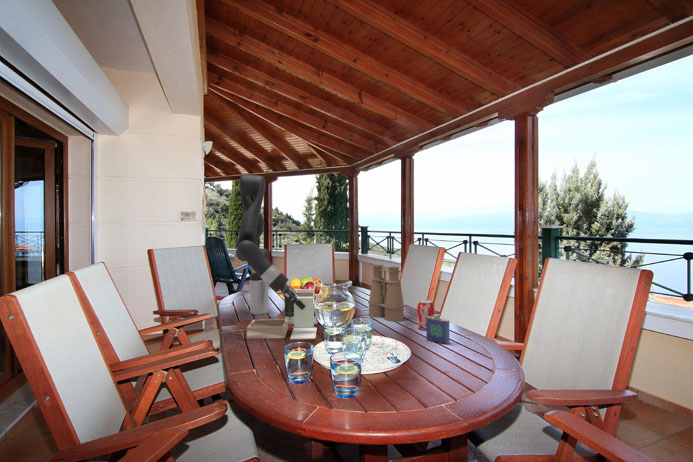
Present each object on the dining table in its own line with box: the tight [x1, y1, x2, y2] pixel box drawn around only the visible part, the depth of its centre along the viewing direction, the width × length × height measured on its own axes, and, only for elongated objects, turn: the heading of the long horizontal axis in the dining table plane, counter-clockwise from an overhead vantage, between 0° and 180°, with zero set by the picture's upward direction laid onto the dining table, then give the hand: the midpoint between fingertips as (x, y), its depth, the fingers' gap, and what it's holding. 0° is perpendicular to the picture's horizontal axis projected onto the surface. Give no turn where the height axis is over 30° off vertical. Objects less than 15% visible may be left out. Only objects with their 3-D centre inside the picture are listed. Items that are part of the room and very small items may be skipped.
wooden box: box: [246, 318, 289, 340], centre depth 149 cm, size 12×15×4 cm
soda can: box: [416, 299, 435, 332], centre depth 154 cm, size 7×7×12 cm
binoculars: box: [367, 264, 405, 323], centre depth 174 cm, size 21×10×25 cm, turn 41°
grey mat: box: [289, 326, 318, 340], centre depth 148 cm, size 14×10×1 cm
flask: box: [425, 313, 451, 345], centre depth 137 cm, size 9×3×11 cm, turn 50°
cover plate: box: [293, 297, 315, 328], centre depth 149 cm, size 3×8×12 cm, turn 93°
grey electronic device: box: [284, 288, 319, 325], centre depth 167 cm, size 15×10×15 cm
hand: (304, 307), depth 149 cm, fingers closed on cover plate, 3 cm apart
